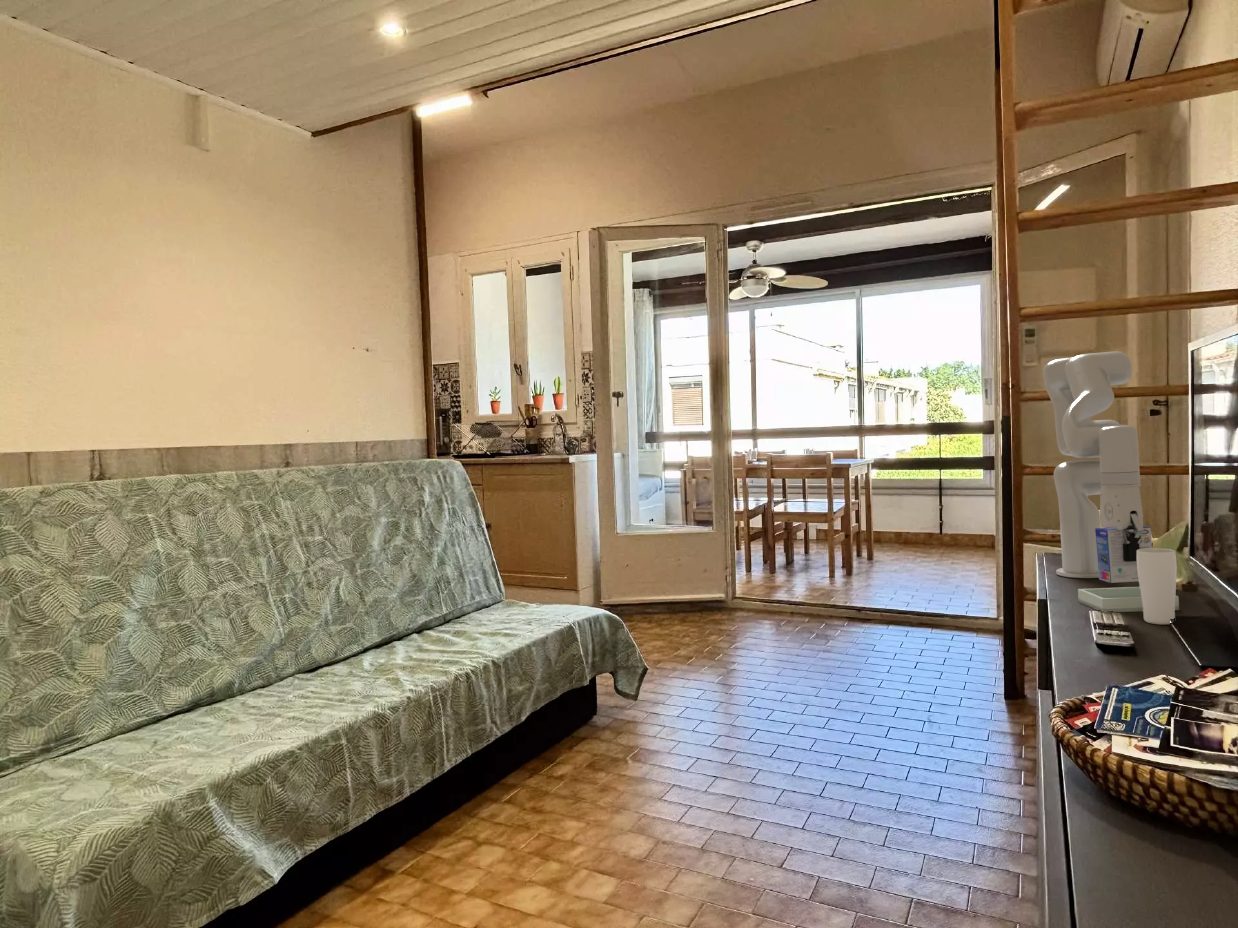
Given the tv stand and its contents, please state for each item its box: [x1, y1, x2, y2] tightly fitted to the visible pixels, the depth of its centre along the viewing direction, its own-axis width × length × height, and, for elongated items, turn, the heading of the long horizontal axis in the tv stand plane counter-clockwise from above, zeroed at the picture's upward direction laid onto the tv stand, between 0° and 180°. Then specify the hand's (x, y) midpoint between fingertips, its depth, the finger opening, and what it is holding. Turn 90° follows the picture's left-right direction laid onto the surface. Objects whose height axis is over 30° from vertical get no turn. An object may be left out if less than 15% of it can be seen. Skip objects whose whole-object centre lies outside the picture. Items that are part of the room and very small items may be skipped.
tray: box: [1077, 586, 1180, 613], centre depth 174 cm, size 12×16×3 cm
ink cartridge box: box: [1095, 525, 1153, 584], centre depth 174 cm, size 10×6×14 cm, turn 89°
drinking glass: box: [1136, 547, 1178, 626], centre depth 159 cm, size 7×7×15 cm
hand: (1124, 558), depth 174 cm, fingers closed on ink cartridge box, 5 cm apart
